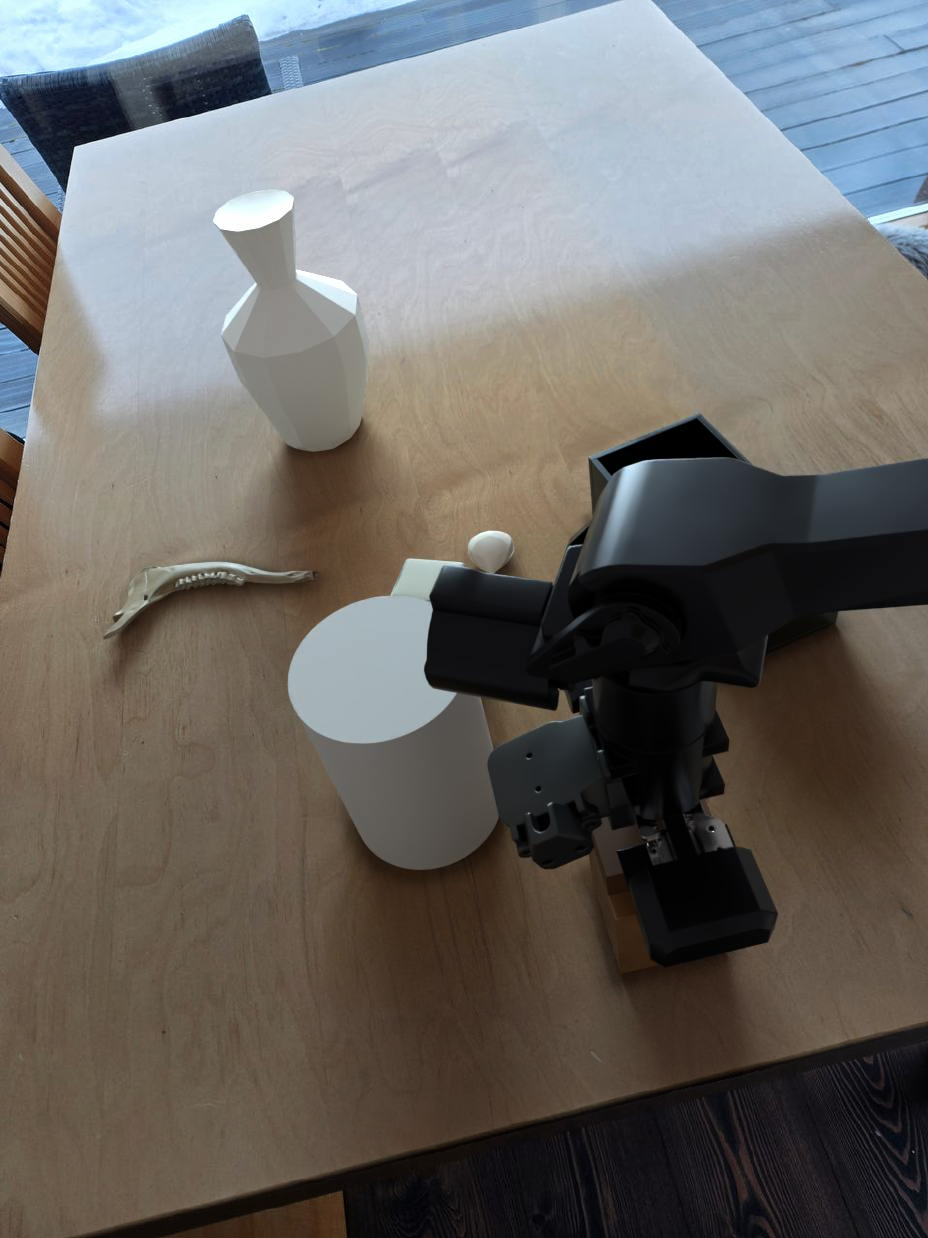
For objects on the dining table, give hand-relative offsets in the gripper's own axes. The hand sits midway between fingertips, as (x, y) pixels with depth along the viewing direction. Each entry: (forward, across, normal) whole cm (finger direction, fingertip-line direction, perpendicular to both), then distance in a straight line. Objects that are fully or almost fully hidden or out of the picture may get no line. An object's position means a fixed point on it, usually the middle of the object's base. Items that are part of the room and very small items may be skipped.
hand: (655, 849), depth 56 cm
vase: (+9, -62, -18) cm, 65 cm away
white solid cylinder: (+9, -13, -14) cm, 21 cm away
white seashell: (+9, -35, -4) cm, 37 cm away
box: (+9, -25, -10) cm, 28 cm away
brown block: (0, 0, 0) cm, 0 cm away
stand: (+9, 0, 0) cm, 9 cm away
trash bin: (+9, -29, +14) cm, 33 cm away
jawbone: (+9, -38, -31) cm, 50 cm away
